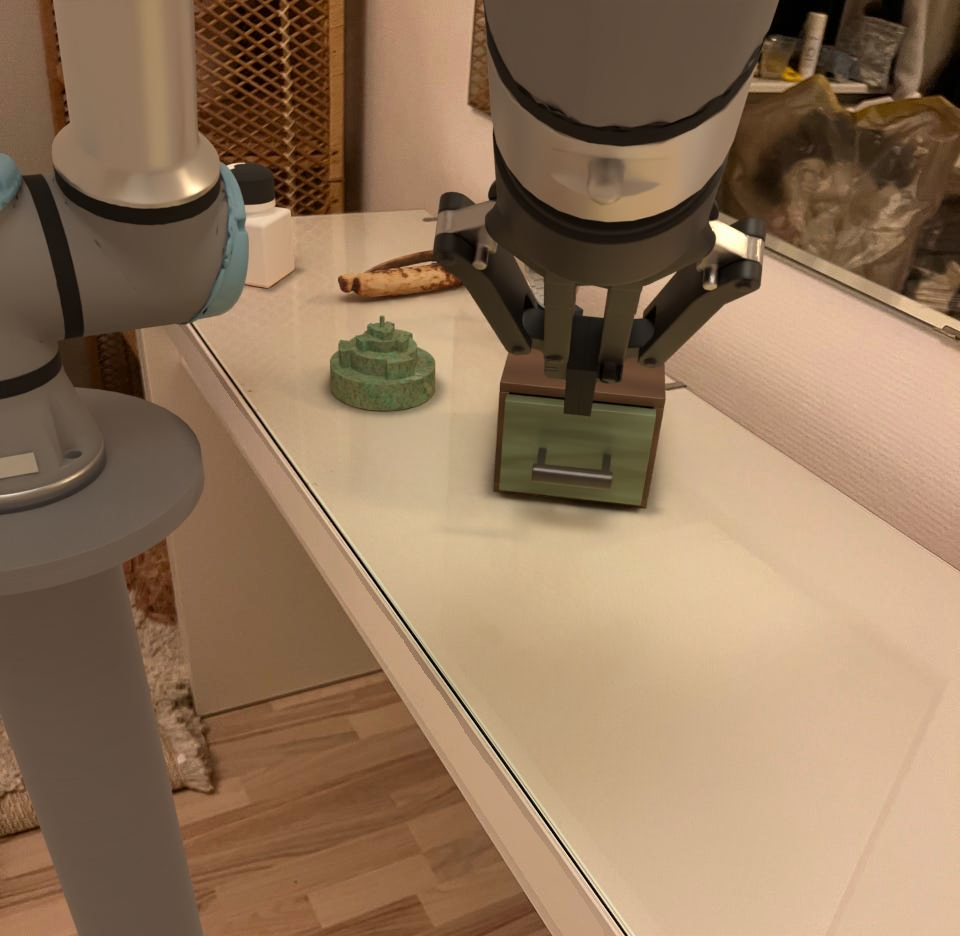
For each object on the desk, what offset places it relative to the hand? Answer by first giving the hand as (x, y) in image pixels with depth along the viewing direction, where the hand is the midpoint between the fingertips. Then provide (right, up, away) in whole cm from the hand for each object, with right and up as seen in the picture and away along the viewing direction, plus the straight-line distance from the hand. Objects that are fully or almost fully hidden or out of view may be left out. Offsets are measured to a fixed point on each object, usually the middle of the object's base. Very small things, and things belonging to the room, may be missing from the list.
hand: (579, 391), depth 54 cm
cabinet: (+3, +2, +33) cm, 33 cm away
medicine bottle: (-32, +30, +64) cm, 77 cm away
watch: (+2, +20, +54) cm, 58 cm away
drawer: (+2, +1, +29) cm, 29 cm away
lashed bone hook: (-14, +28, +63) cm, 70 cm away
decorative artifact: (-15, +11, +42) cm, 45 cm away
